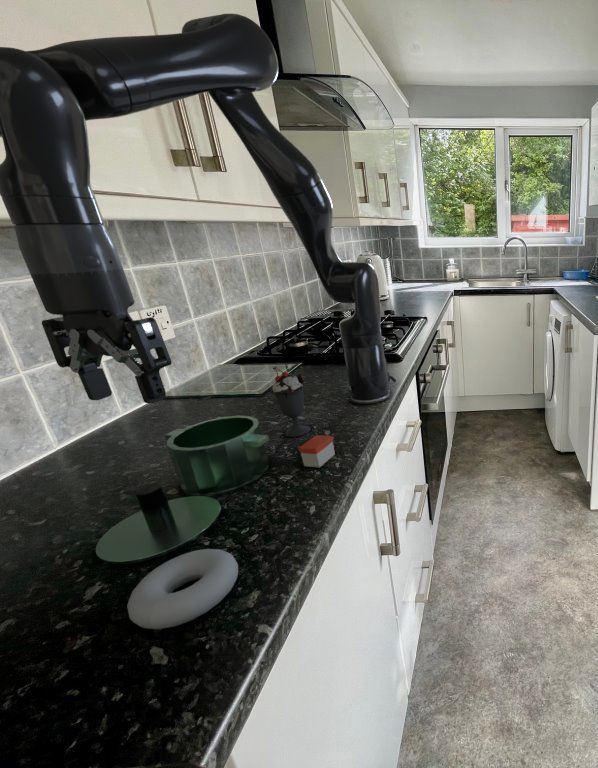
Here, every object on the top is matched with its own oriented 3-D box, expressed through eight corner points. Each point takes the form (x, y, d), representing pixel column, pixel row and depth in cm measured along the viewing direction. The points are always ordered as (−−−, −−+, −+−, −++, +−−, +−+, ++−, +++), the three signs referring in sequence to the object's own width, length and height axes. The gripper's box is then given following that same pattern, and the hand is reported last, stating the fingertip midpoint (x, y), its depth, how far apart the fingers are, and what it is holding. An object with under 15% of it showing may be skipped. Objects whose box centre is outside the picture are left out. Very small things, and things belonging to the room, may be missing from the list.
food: (319, 452, 78) (316, 434, 76) (336, 454, 77) (332, 436, 76) (302, 466, 73) (298, 447, 72) (319, 468, 73) (315, 449, 71)
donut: (249, 556, 53) (155, 577, 50) (243, 534, 52) (146, 554, 48) (229, 619, 44) (113, 650, 41) (222, 595, 43) (101, 625, 40)
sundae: (275, 440, 83) (258, 370, 78) (285, 426, 89) (270, 360, 84) (310, 437, 84) (296, 367, 79) (318, 423, 90) (305, 358, 85)
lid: (170, 498, 65) (156, 459, 63) (244, 506, 63) (232, 466, 60) (69, 561, 52) (47, 515, 50) (157, 574, 50) (137, 527, 48)
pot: (214, 453, 78) (202, 413, 75) (298, 460, 75) (288, 418, 72) (149, 491, 67) (131, 445, 64) (244, 501, 64) (230, 454, 61)
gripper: (162, 264, 48) (201, 391, 54) (67, 265, 51) (115, 386, 57) (90, 270, 41) (144, 415, 47) (-15, 271, 44) (48, 408, 50)
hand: (128, 399), depth 52 cm, fingers open, 8 cm apart
